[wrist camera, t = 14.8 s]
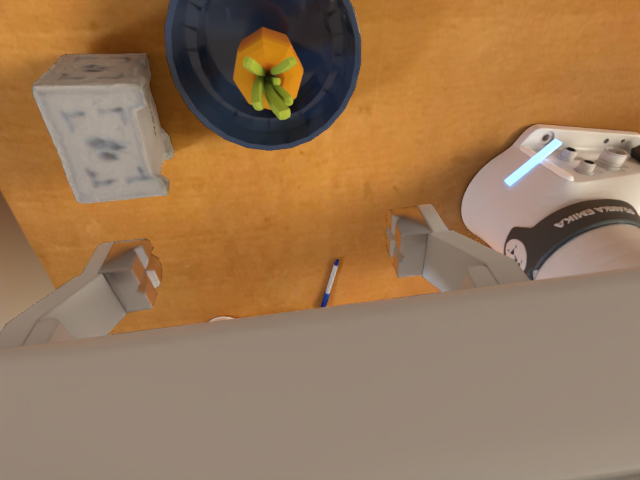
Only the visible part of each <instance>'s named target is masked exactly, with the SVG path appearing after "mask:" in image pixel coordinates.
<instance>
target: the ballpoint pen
mask: <svg viewBox="0 0 640 480" xmlns="http://www.w3.org/2000/svg"><path fill="white" fill-rule="evenodd" d="M338 265H339V260H338V259H337V260H336V261H335V263H334V266H333V269H332V272H331V276H330V279H329V282H328V286H327V289H326V292H325V294H324V298H323V301H322V304H321V308H322V307H326V304H327V301H328V298H329V295H330V291H331V287H332V284H333V281H334V278H335V275H336V271H337V268H338Z"/></svg>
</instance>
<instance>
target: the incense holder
mask: <svg viewBox="0 0 640 480" xmlns="http://www.w3.org/2000/svg"><path fill="white" fill-rule="evenodd" d="M57 61H58V62H57V63H55V64H54V65H53V66H51V68H49V70H48V71H47V72H45V73H44V74H42V76H41V77H40V78H39V79H38V80H37V81H35V82H34V84H33V88H32V92H33V96H34V98H35V101H36V103H37V105H38V107H39V110H40V112H41V115H42V117H43V119H44V122H45V124H46V127H47V129H48V131H49V134H50V136H51V138H52V140H53V143H54V145H55V147H56V150H57V152H58V154H59V157H60V159H61V162H62V165H63V168H64V171H65V174H66V176H67V179H68V182H69V184H70V186H71V188H72V191H73V194H74V196H75V199H76V201H77V202H78V203H85V204H88V203H96V202H108V201H119V200H127V199H135V198H144V197H153V196H166V195H168V192H169V180H168V179H167V178H166V177H164V176H163V175H161V168H162V164H163V162H164V161H165V160H168V159H171V158H172V157H174V149H173V146H172V144H171V141H170V137H169V135H168V134H167V133H166V132H165V130H164V129H162V128H161V125H160V121H159V117H158V112H157V108H156V104H155V101H154V99H153V96H152V94H151V90H150V87H149V81H150V79H151V72H150V69H149V60H148V57H147V54H146V53H145V52H144V53H121V54H65V55H63V56H61V57H60V58H59V59H58V60H57Z"/></svg>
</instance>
